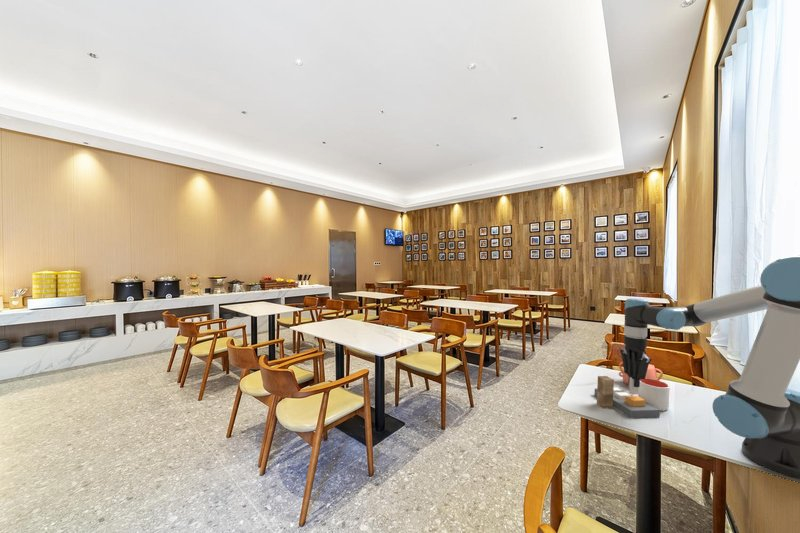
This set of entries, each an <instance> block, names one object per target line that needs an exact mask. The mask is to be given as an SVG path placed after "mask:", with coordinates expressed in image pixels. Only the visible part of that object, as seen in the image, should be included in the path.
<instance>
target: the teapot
mask: <svg viewBox="0 0 800 533" xmlns="http://www.w3.org/2000/svg"><path fill="white" fill-rule="evenodd" d="M622 365H623V361H621V362H619V364H618V368H619V370H620V372H619V373H618V375H619V377H621V378H622V380H623V383H624V384H627V387H628V386H629V376H628V374H626V373H624V368H622ZM657 372H659V376H657V375H658V374H657ZM663 373H664V372H663V371H662V370H661V369H659V368H655V365H654V364H650V363H649V365H648V369H647V373H646V376H645V378H647V379H654V380H658V381H661V379H662V378H663V376H664V374H663Z"/></svg>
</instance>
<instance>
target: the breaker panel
mask: <svg viewBox="0 0 800 533" xmlns="http://www.w3.org/2000/svg"><path fill="white" fill-rule="evenodd" d="M594 396H595V397H597V388H594ZM625 396H634V394H630V393H629V392H627V391H625V390H623V389H621V388H619V387H617V386H616V387H615V386H614V390H613V409H615V410H617V411H619V412H621V413H622V414H624V415H625V416H627V417H629V418H630V419H644V418H645V419H647V418H649V419H650V418H651V419H652V418H653V419H655V418H660V416H661V415H660V412H661V411H660V410H659V409H657V408H655V407H654V406H652V405H650V404H648V403H646V402H645V407H632V406H630V405H629V404H627V403H625Z"/></svg>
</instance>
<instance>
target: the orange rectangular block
mask: <svg viewBox="0 0 800 533" xmlns="http://www.w3.org/2000/svg"><path fill="white" fill-rule="evenodd" d="M625 403H627V404H629V405H630V406H632V407H645V400H644V399H642V398H640V397H638V395H633V396H625Z"/></svg>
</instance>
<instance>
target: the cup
mask: <svg viewBox="0 0 800 533" xmlns="http://www.w3.org/2000/svg"><path fill="white" fill-rule="evenodd" d="M670 390H671V389H670V385H669V384H668V383H666V382H664V381H662V380H659V381H658V380H654V379H647V378H645V379H640V386H639V390H638V394H637V396H638V397H640V398H642V399H644V400H645V402H646V403H648V404H650V405H652V406H654V407H655V408H657V409H659V410H660V412H661V411H667V410H668V409H669V407H670V405H669V404H670Z"/></svg>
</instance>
